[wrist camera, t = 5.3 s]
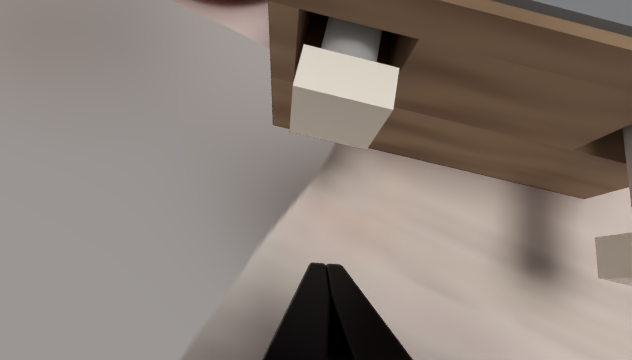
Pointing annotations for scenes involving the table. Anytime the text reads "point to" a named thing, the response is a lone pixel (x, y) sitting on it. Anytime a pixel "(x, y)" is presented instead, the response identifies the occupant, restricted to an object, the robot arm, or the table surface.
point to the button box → (483, 87)
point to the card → (584, 12)
